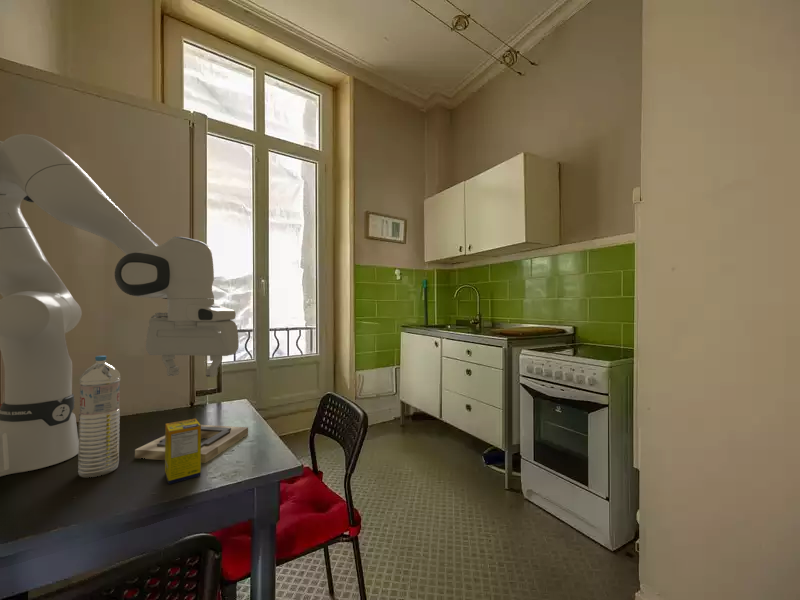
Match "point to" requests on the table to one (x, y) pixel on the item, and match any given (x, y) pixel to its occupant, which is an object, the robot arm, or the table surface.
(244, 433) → the socket block
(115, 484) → the table surface
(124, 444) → the table surface
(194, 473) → the supplement box
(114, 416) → the water bottle
